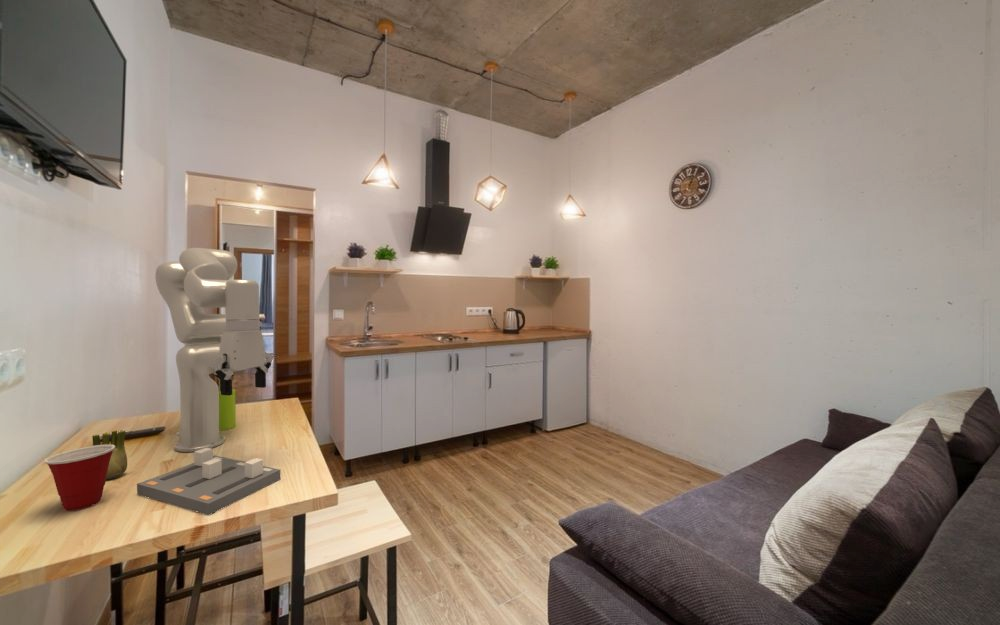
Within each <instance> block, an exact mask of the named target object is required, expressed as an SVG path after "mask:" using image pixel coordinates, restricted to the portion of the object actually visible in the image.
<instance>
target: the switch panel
mask: <svg viewBox="0 0 1000 625" xmlns="http://www.w3.org/2000/svg"><path fill="white" fill-rule="evenodd" d="M213 459H219V460H222V474H220V475H218V476H215V477H213V478H211V479H207V478H203V477H202V466H197V465H194V462H193V463H190V464H188V465H184V466H182V467H179V468H177V469H174V470H171V471H168V472H166V473H163V474H160V475H157V476H155V477H153V478H150V479H146V480H144V481H141V482H138V483H137V484H136V494H137V495H139V496H141V495H142V497H145V496H146V497H145V498H148V497H149V499H153V500H156V501H159V502H162V503H166V504H170V505H172V506H176V507H179V508H183V509H187V510H190V511H194V512H196V511H198V512H197V513H200V512H201V513H200V514H203V513H204V514H203V515H206V514H207V516H210V515H211V513H212V514H214V513H216V512H218V511H219V509H220V510H221V508H222V509H223V507H224V508H225V506H226V507H228V506H229V504H230V505H232V504H234V503H236V502H238V501H240V500H242V499H244V498H245V497H247V496H251V495H252V494H254V493H256V492H257V491H260V490H262V489H263V488H264V489H265V487H267V486H269V485H271V484H274V483H276V482H278V481H279V480H281V469H280V468H274V467H269V466H265V465H263V474H260V475H258V476H256V477H254V478H248V477H245V462H246V461H242V460H239V459H234V458H229V457H224V456H220V455H215V454H214V455H213ZM233 502H234V503H233ZM231 503H232V504H231ZM227 505H228V506H227ZM217 510H218V511H217ZM215 511H216V512H215ZM213 512H214V513H213ZM209 514H210V515H209Z"/></svg>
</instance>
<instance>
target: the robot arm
mask: <svg viewBox="0 0 1000 625" xmlns="http://www.w3.org/2000/svg"><path fill="white" fill-rule="evenodd" d="M178 258H179V259H178V260H179V261H168V262H163V263H161V264H159V265H158V266H157V267H156V269H155V276H154V277H155V283H156V287H157V290H158V291H159V292H158V293H159V294H160V295H161V297H162V299H163V300H164V302H165V303H166V305H167V306H168V309H169V312H170V317H171V319H172V320H171V321H172V323H173V324H172V325H173V328H174V333H175V335H176V338H177V340H178V342H180V343H182V344H185V345H186V346H183V347H181V348H180V349H179V350H177V352H176V356H175V363H176V367H177V372H178V378H179V398H180V399H179V401H180V430H179V431H176V433H175V435H176V436H179V441H177V442H176V443H174V444H173V450H174V451H175V452H180V453H190V452H195V451H198V450H201V449H204V448H211V449H213V448H215V447H218V446H221V445H222V444H223V443H224V442H225V441H226V437H225V436H224V435H223V434H220V430H219V390H220V391H221V395H228V396H229V395H232V389H233V380H232V379H230V378H231V377H232V376H233V375H234V373H235V372H238V371H244V370H251V369H254V371H256V372H255V374H254V380H255V381H254V384H255V385H254V386H255V387H256V388H260V389H261V388H262V389H263V388H264V389H265V388H266V387H267V378H266V377H267V373H268V372H269V369H270V367H271V366H272V363H273V360H274V355H272V354H270V353H269V352H266V351H265V350H266V349H265V341H264V337H263V333H262V330H261V327H262V326H263V322H262V321H260V319H261V318H260V285H259V283H258V282H257V281H256V280H252V279H232V278H233V276H235V274H236V272H237V269H238V261H237V257H236V256H235V255H234V253H232V252H231V251H228V250H223V249H215V248H214V249H213V248H205V247H190V248H186V249H185V250H183V251H182V252H181V253H180V255H179V257H178ZM208 308H209V309H212V308H213V309H214V308H215V309H216V308H221V309H222V308H224V309H225V311H224V312H225V313H223V314H222V313H210V314H209V313H206V311H205V309H208ZM227 371H228V372H227ZM211 374H212V375H213V376H215V377H216V378H217V380H219V386H218V384H217V382H216V381H215V380H214V379H213V378H211V377H210V375H211ZM232 374H233V375H232Z"/></svg>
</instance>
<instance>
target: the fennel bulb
mask: <svg viewBox="0 0 1000 625" xmlns="http://www.w3.org/2000/svg"><path fill="white" fill-rule="evenodd" d="M110 434H111V438H110ZM101 435H102V438H100V433H95V434H93V435H92V446H96V445H114V446H115V448H114V450H113V452H112V455H111V459H110V462H109V467H108V472H107V477H106V481H107V480H108V481H109V480H113V479H116V478H119V477H121V476H122V475H123V474H124V473H125V472H126V470H127V469H128V456H127V452H126V447H125V437H126V436H125V435H126V430H122V429H121V430H117V429H112V430H111V432H110V431H107V432H106V431H105V432H103V433H102V434H101ZM101 439H102V441H101Z"/></svg>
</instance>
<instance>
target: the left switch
mask: <svg viewBox="0 0 1000 625" xmlns="http://www.w3.org/2000/svg"><path fill="white" fill-rule="evenodd" d="M193 452H194V454H193V455H194V456H193V457H194V459H193V460H194V461H193V463H194V465H197V466H202V463H204V462H207V461H210V460H212V459H213V456H214V455H213V452H214V451H213V448H204V449H201V450H198V451H193Z"/></svg>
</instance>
